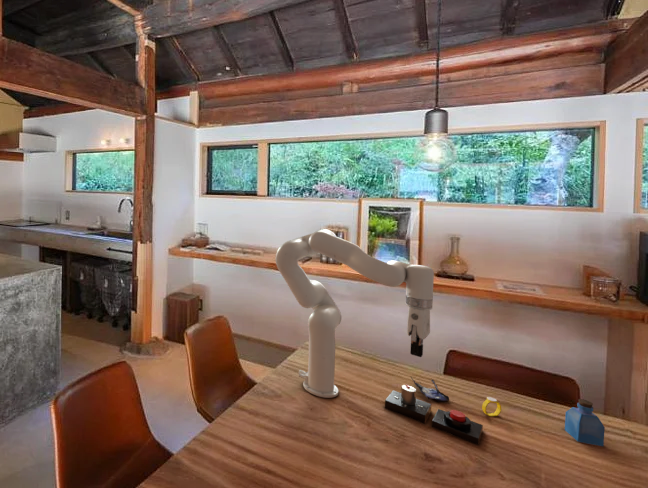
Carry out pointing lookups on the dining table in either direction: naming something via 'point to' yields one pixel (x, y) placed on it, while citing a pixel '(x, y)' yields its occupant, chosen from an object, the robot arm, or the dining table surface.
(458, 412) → the button
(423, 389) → the snack package
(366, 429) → the dining table surface
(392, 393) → the control panel
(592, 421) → the perfume bottle
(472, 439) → the button block
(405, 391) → the heat knob
